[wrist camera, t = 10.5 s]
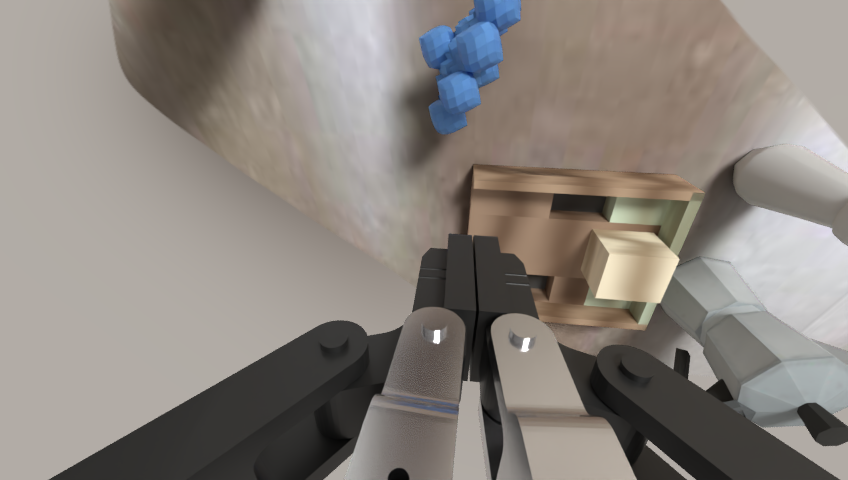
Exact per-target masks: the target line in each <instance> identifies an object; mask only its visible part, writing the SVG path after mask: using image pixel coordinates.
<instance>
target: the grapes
mask: <svg viewBox="0 0 848 480" xmlns="http://www.w3.org/2000/svg"><path fill="white" fill-rule="evenodd" d="M474 7H475V8H473V9H472V10H471V11H469V15H470V16H468V17H465V18H464V19H462V20H460V21H459V22H458V23H459V24H458V25H457V26H455V28H456V31H455V32H454V33H453V32H452V30H451V28H450V27H447V26H438V27H435V28H433V29H431V30H430V31H428V32H427V33H425V34H424V35H422V36H421V37H420V38H419V41H420V45H421V50H422V54H423V57H424V59H425V61H426V63H427V64H428V66H429V67H430V68H434V69H439V72H440V75H438V76H436V81H437V85H438V89H439V94H440V95H439V96H438V97H439V99H438V100H437V101H435V102H433V103H432V104H431V105H430V106H429V112H430V116H431V120H432V123H433V125H434V128H435V129H436V130H437V132H438V133H440V134H450V133H453V132H455V131H457V130H459V129H461V128H463V127H465V126H467V121H466V115H465V112H467V111H469V110H471V109H473V108H475V107H476V106H478V105H480V104H481V101H480V94H479V88H480V87H482V86H485V85H487V84H489V83H491V82H493V81H495V80H496V79H498V78H499V70H498V63H500V62H501V61H503V52H502V44H501V38H500V36H501V35H503V34H504V33H506V32H507V28H509V27H511V26H512V25H514V24H515V23H517V22H518V21H520V20H521V19H520V11H521V0H474Z"/></svg>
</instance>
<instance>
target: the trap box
mask: <svg viewBox="0 0 848 480" xmlns="http://www.w3.org/2000/svg"><path fill="white" fill-rule="evenodd" d="M704 195H705V192H703V191H701V190H700V189H698V188H697V187H695V186H693V185H692V184H690V183H688V182H687V181H685V180H684V179H682V178H680V177H679V176H677V175H673V174H654V173H634V172H615V171H595V170H576V169H556V168H537V167H517V166H498V165H478V164H473V175H472V185H471V196H470V207H469V218H468V229H467V235H472V242H473V236H474V235H479V236H495V237H498V241H499V246H500V251H501V253H512V254H515V255H516V256H517V257H518V258H519V259H520V260H521V261H522V262H523V263H524V266H525V270H526V273H527V277H528V281H529V286H530V288H531V291H532V295H533V298H534V302H535V306H536V309H537V313H538V316H539V320H540V321H542V322H553V323H565V324H576V325H588V326H599V327H611V328H623V329H634V330H646V328H647V325H648V323H649V321H650V319H651V316H652V314H653V312H654V309H655V307H656V305H657V303H650V302H638V301H625V300H613V299H601V298H595V297H594V295H593V293H592V291H591V289H590V287H589V285H588V283H587V281H586V279H585V277H584V275H583V273H582V271H581V266H582V263H583V259H584V256H585V252H586V249H587V245H588V242H589V238H590V235H591V231H592V229H604V230H619V231H634V232H649V233H654V234H655V235H656V236H657V237H658V238H659V239H660V240H661V241H662V242H663V243H664V244H665V245H666V246H667V247H668V248H669V249H670V250H671V251H672V252H673V253H674V254H675V255H676V256H677V257H678V255H679V252H680V250H681V248H682V246H683V243H684V241H685V239H686V236H687V234H688V232H689V230H690V227H691V225H692V223H693V220H694V218H695V216H696V214H697V211H698V209H699V207H700V205H701V202H702V200H703V198H704Z"/></svg>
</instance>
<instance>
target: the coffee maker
mask: <svg viewBox="0 0 848 480" xmlns="http://www.w3.org/2000/svg"><path fill="white" fill-rule="evenodd" d="M660 305H661V306H662V308H663V310H664V312H665V313H666V314H667V315H669V316H670V317H671V318H672V319H673V320H674V321H675V322H676V323H677V324H678V325H679V326H681V327H682V328H683V329H684V330H685V331H686V332H687V333H688V334H689V335H690V336H692V337H693V338H694V339H695V340H696V341H697V342H698V343H699V344H700V345H701V346H702V347H704V350H703V354H704V356H705V357H706V359H707V361H708V363H709V365H710V367H711V368H712V370H713V372H714V374H715V376H716V377H717V379H718V382H716V383H715V384H714V385H713V386H711V387H710V388H709V389H708V390H706V392H708V393H709V394H711V395H712V396H714V397H715V398H717V399H718V400H720V401H721V402H723V403H724V404H726V405H727V406H729V407H730V408H732V409H733V410H735V411H736V412H738V413H739V414H741V415H742V416H744V417H746V418H747V419H749V420H750V421H752V422H754V423H756V424H757V425H759V426H761V427H783V426H806V427H807V429H808V431H809V432H810V434H811V435H812V437H813V438H814V440H815V441H816V442H818V443H819V444H821V445H822V446H837V445H841V444H843V443H845V442H848V426H847V425H845V424H844V423H843V422H841V421H840V420H839V419H837V418H836V417H835V416H834V415H832V414H834V413H836V412H838V411H840V410H842V409H844V408H847V407H848V351H846V350H843V349H840V348H837V347H834V346H831V345H828V344H825V343H822V342H819V341H816V340H813V339H810V338H808V337H807V336H805V335H803V334H802V333H800V332H799V331H797V330H795V329H794V328H792V327H791V326H789V325H787V324H785V323H784V322H782V321H781V320H779V319H778V318H776V317H775V316H773V315H772V314H771V313H769V312H768V311H767V310H766V308H765V306H764V305H763V303H762V302H761V301H760V300H759V298H758V297H757V296H756V295H755V293H754V292H753V291H752V289H751V288H750V287H749V286H748V284H747V283H746V282H745V281H744V279H743V278H742V277H741V276H740V274H739V273H738V272H737V270H736V269H735V268H734V267H733V265H732V264H731V263H730V262H727V261H722V260H716V259H710V258H705V257H697V258H695V259H693V260H690V261H688V262H686V263H683V264H681V265H679V266H676V269H675V271H674V273H673V275H672V278H671V280H670V282H669V284H668V287H667V289H666V291H665V293H664V295H663V298H662V300H661V302H660ZM689 363H690V355H689V353H688V351H686V350H682V349H678V348H676V354H675V362H674V371H676V372H677V373H679V374H680V375H682V376H683V377H685V378H686V379H688V373H689Z"/></svg>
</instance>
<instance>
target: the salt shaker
mask: <svg viewBox="0 0 848 480" xmlns="http://www.w3.org/2000/svg"><path fill="white" fill-rule="evenodd" d="M733 184H734V187H735V190H736V192H737V194H738V195H739V196H740V197H741V198H743V199H744V200H745V201H746V202H747V203H748V204H751V205H754V206H758V207H762V208H765V209H769V210H772V211H776V212H779V213H783V214H787V215H790V216H794V217H797V218H801V219H804V220H807V221H810V222H814V223H817V224H820V225H823V226H827V227H830V228H832V232H833V234H834V235H835V236H836V237H837V238H838V239H839V240H840V241H841V242H842V243H844V244H845V245H847V246H848V173H847V172H845V171H843V170H842V169H840V168H839V167H837V166H835V165H834V164H832V163H830V162H829V161H827V160H825V159H824V158H822V157H820V156H819V155H817V154H816V153H814V152H812V151H811V150H809V149H807V148H806V147H802V146H797V145H791V144H781V145H776V146H771V147H765V148H759V149H753V150H752V151H751V152H750V153H748V154H747V155H746V156H745V157H743V158H742V159H741V160H740V161H738V162H737V163H736V164H735V166H734V174H733Z"/></svg>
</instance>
